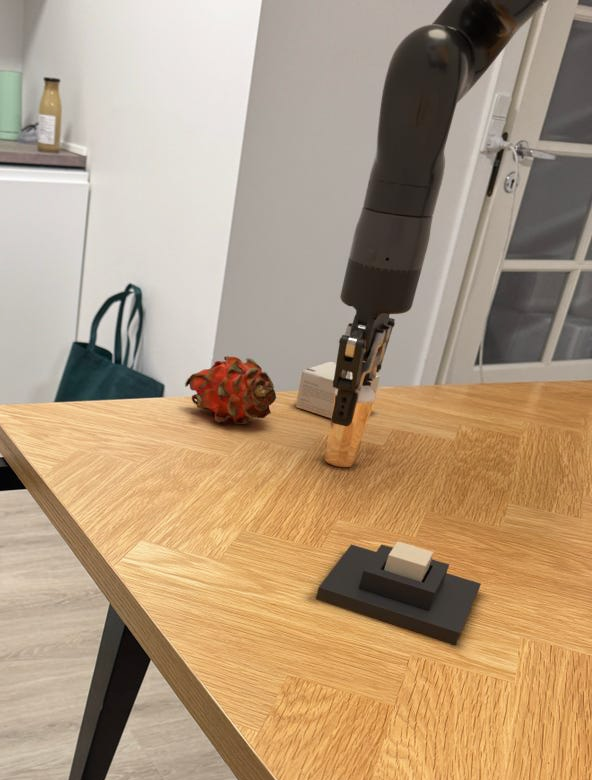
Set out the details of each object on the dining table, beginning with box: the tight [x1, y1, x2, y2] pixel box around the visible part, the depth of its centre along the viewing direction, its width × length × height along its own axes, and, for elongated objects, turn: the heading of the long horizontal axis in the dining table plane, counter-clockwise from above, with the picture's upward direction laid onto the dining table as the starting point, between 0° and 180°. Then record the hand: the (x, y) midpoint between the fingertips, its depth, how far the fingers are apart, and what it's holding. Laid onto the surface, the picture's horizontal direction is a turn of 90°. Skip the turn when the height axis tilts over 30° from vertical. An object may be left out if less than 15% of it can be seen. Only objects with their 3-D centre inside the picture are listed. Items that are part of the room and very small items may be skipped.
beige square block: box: [384, 541, 434, 582], centre depth 77 cm, size 3×3×2 cm
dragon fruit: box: [183, 355, 277, 425], centre depth 112 cm, size 8×8×12 cm
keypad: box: [315, 544, 482, 646], centre depth 78 cm, size 12×10×3 cm
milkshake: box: [324, 371, 377, 468], centre depth 102 cm, size 5×5×10 cm
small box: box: [295, 361, 381, 419], centre depth 119 cm, size 8×8×5 cm
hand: (347, 417), depth 102 cm, fingers closed on milkshake, 4 cm apart
